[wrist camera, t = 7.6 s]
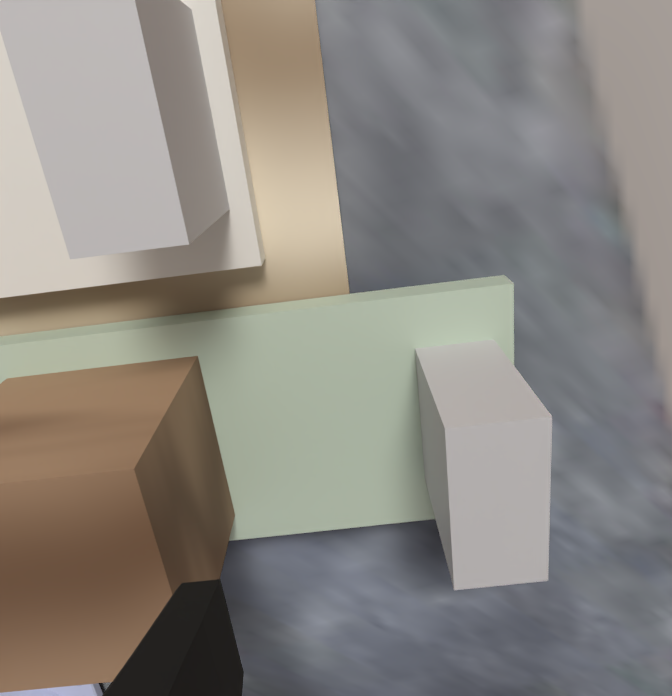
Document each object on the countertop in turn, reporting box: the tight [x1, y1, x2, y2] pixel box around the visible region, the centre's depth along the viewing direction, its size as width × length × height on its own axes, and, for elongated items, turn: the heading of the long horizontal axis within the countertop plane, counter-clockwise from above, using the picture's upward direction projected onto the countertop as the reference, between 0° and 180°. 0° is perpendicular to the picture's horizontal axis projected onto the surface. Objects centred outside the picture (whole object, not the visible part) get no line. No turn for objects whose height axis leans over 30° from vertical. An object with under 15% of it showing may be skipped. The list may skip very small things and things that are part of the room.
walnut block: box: [0, 356, 235, 693], centre depth 13 cm, size 5×5×5 cm
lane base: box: [0, 0, 350, 336], centre depth 15 cm, size 16×16×1 cm
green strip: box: [0, 275, 552, 590], centre depth 14 cm, size 7×14×5 cm, turn 97°
